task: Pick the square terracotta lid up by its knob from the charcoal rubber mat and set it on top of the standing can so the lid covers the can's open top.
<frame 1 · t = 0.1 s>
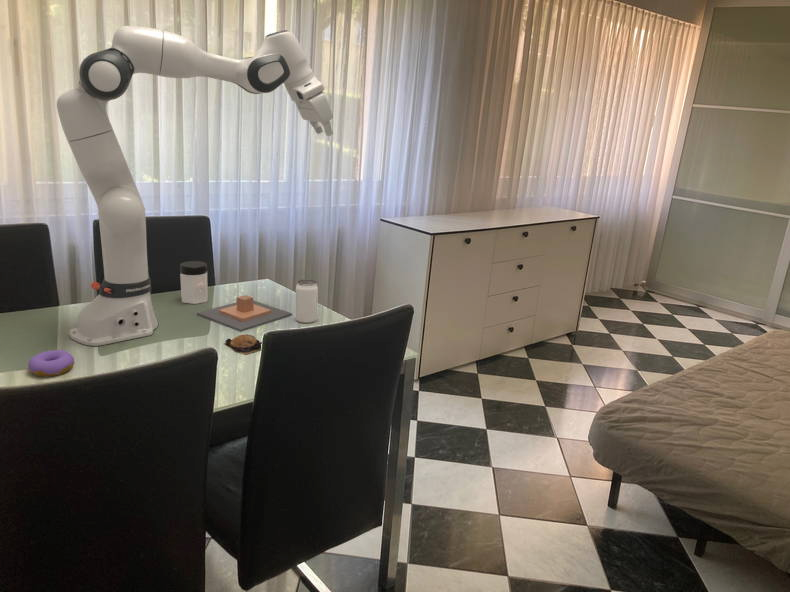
hand: (325, 134, 178), 54 cm above the table, tool tilted 30°, fingers open, 8 cm apart
mat: (245, 314, 186), on the table
can: (306, 320, 185), on the table
lid: (245, 313, 186), point 1 cm above the table, touching mat
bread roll: (245, 348, 164), on the table
jar: (195, 300, 197), on the table
donut: (52, 371, 144), on the table
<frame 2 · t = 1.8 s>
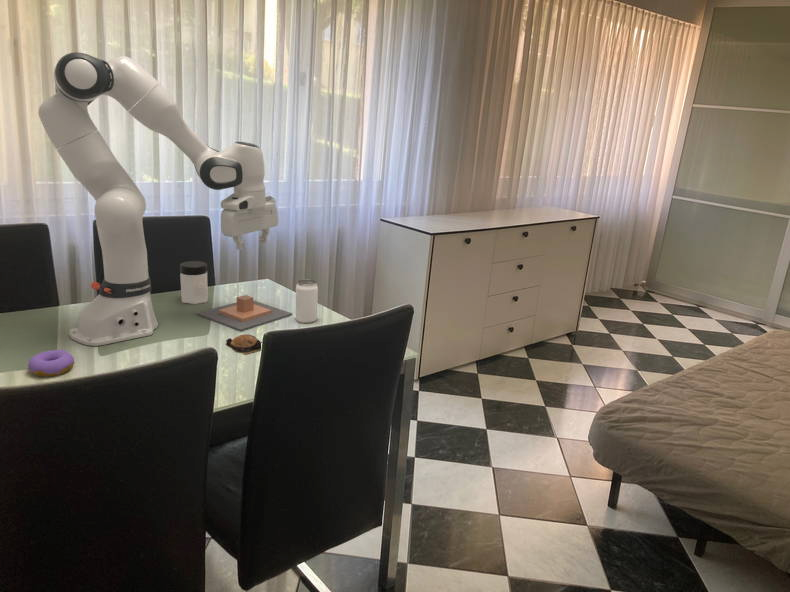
hand: (252, 246, 181), 21 cm above the table, tool pointing down, fingers open, 8 cm apart
nothing on the table moved.
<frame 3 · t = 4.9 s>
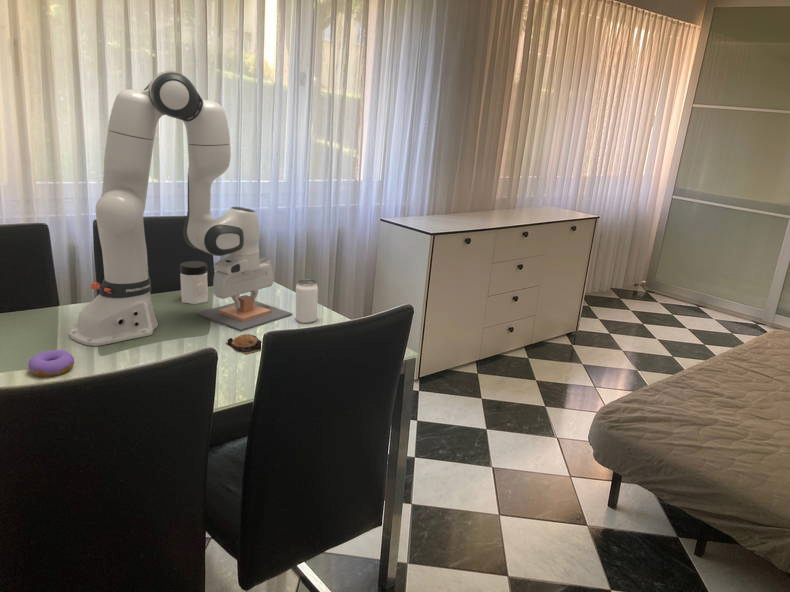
hand: (245, 305, 185), 3 cm above the table, tool pointing down, fingers closed on lid, 3 cm apart
lid: (245, 313, 186), point 1 cm above the table, touching gripper, mat
everything else where it was.
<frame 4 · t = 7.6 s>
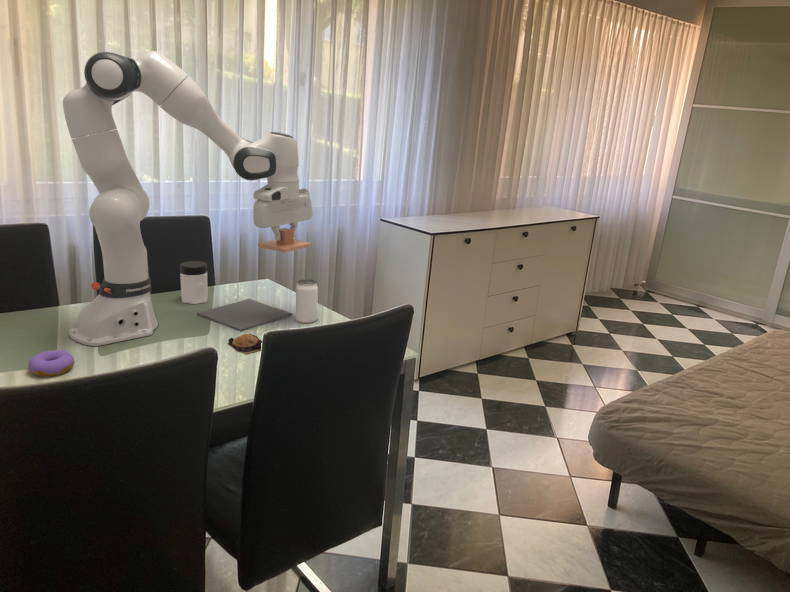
hand: (285, 238, 179), 24 cm above the table, tool pointing down, fingers closed on lid, 3 cm apart
lid: (285, 246, 179), point 22 cm above the table, touching gripper
everything else where it was.
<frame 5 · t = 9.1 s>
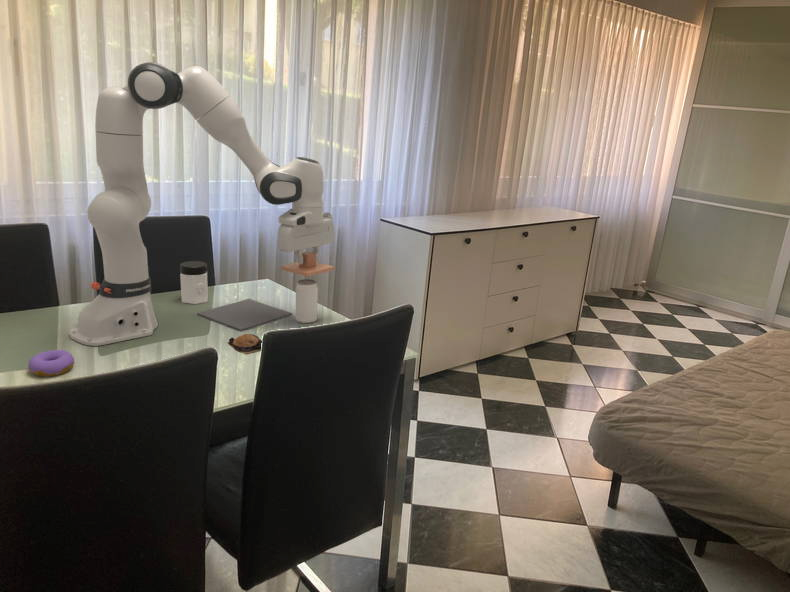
hand: (307, 262, 180), 18 cm above the table, tool pointing down, fingers closed on lid, 3 cm apart
lid: (307, 269, 180), point 16 cm above the table, touching gripper
everything else where it was.
when the fingers open (15 cm above the table, at t = 10.3 s): lid drops 1 cm, resting on can.
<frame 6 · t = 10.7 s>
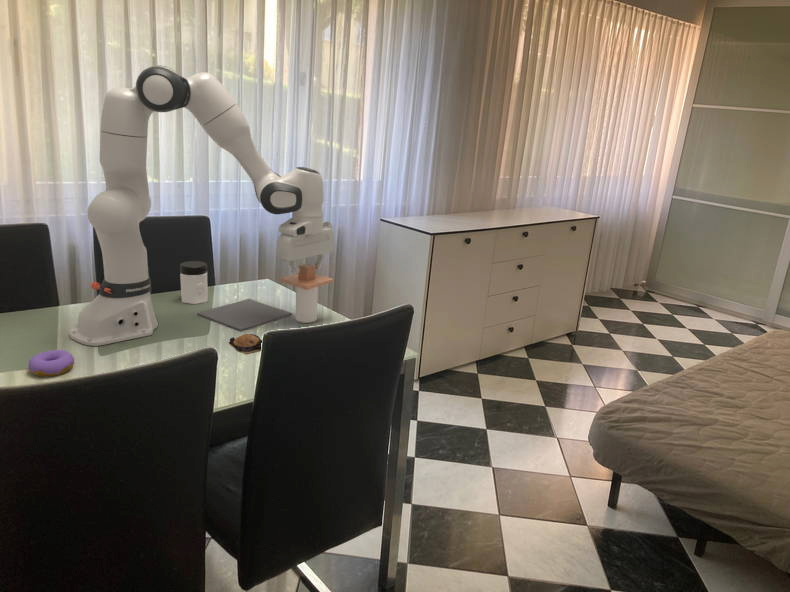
hand: (306, 271, 180), 15 cm above the table, tool pointing down, fingers open, 8 cm apart
can: (306, 320, 185), on the table, touching lid
lid: (306, 281, 181), point 12 cm above the table, touching can
everything else where it was.
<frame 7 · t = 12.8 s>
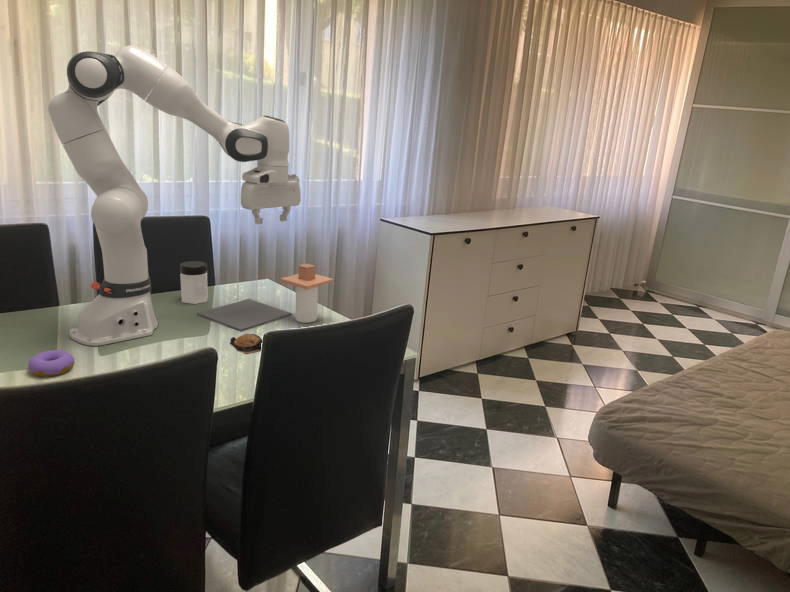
hand: (271, 222, 180), 28 cm above the table, tool pointing down, fingers open, 8 cm apart
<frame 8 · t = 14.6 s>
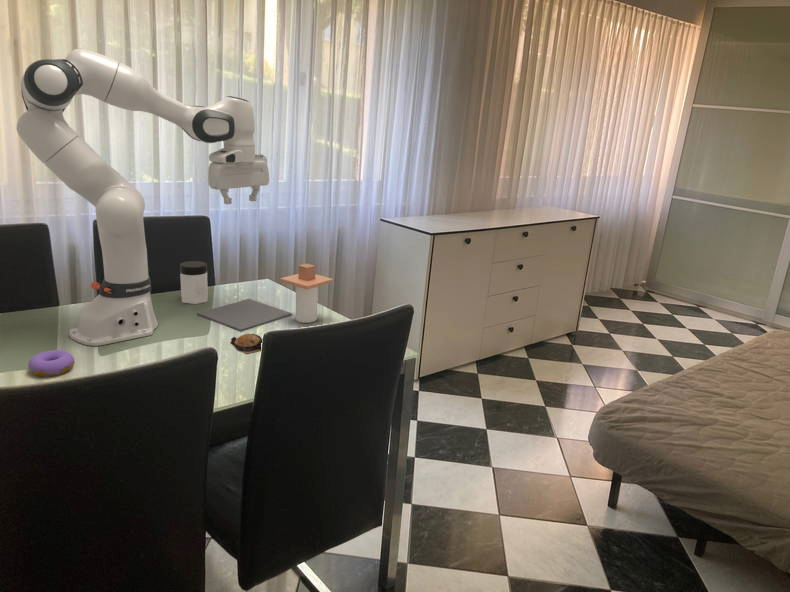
hand: (240, 202, 183), 33 cm above the table, tool pointing down, fingers open, 8 cm apart
at the end: lid 0.0 cm from the can (horizontally); lid point 12.0 cm above the table; can tilted 0° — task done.
